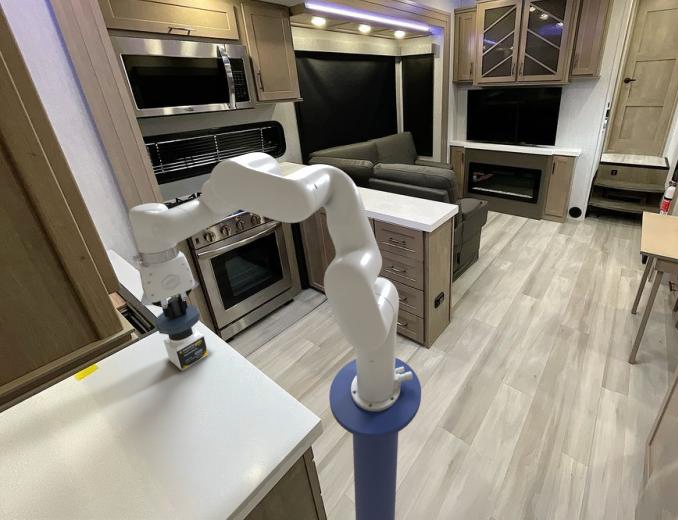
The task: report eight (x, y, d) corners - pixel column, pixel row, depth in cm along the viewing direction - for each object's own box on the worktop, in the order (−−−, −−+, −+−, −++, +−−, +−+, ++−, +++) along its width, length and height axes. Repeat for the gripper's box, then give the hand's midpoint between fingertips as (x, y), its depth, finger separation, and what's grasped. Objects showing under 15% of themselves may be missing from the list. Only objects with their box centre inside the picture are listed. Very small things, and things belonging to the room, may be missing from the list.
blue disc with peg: (202, 308, 91) (197, 286, 88) (195, 329, 83) (189, 306, 80) (163, 314, 88) (157, 292, 85) (152, 337, 80) (145, 314, 77)
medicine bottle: (182, 371, 85) (171, 336, 81) (169, 360, 89) (158, 325, 84) (208, 354, 91) (200, 320, 87) (195, 344, 94) (186, 311, 90)
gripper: (122, 271, 70) (144, 337, 76) (202, 247, 81) (215, 306, 88) (114, 260, 74) (135, 323, 81) (190, 238, 86) (204, 295, 92)
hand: (177, 314), depth 84 cm, fingers closed on blue disc with peg, 2 cm apart
